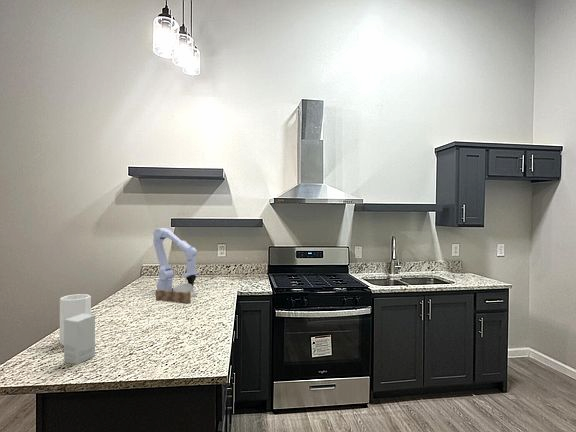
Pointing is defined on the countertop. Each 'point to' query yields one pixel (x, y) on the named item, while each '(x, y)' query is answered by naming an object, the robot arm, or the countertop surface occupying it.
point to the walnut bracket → (173, 296)
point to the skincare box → (79, 338)
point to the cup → (73, 309)
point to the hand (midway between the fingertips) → (191, 286)
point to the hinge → (184, 288)
